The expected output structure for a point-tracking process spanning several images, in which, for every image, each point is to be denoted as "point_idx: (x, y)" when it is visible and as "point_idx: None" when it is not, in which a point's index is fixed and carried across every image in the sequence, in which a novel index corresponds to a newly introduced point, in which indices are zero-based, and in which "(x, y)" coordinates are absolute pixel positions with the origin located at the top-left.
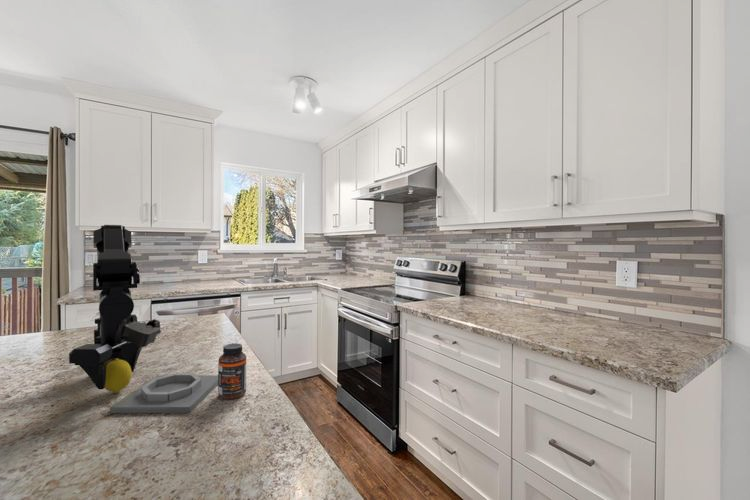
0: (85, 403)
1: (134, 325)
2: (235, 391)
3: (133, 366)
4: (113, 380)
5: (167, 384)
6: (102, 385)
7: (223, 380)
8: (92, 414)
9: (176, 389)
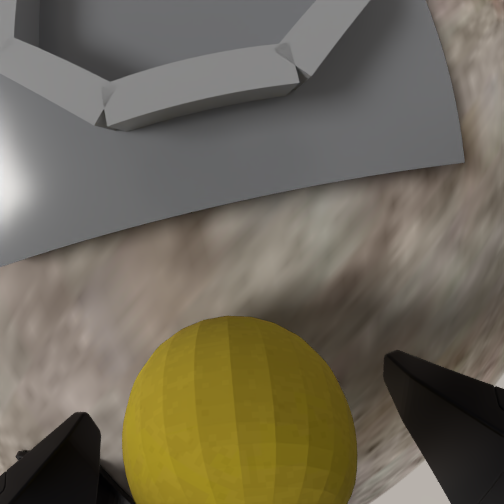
0: (361, 376)
1: None
2: None
3: (67, 437)
4: (334, 377)
5: (92, 46)
6: (422, 359)
7: None
8: (455, 238)
9: None
